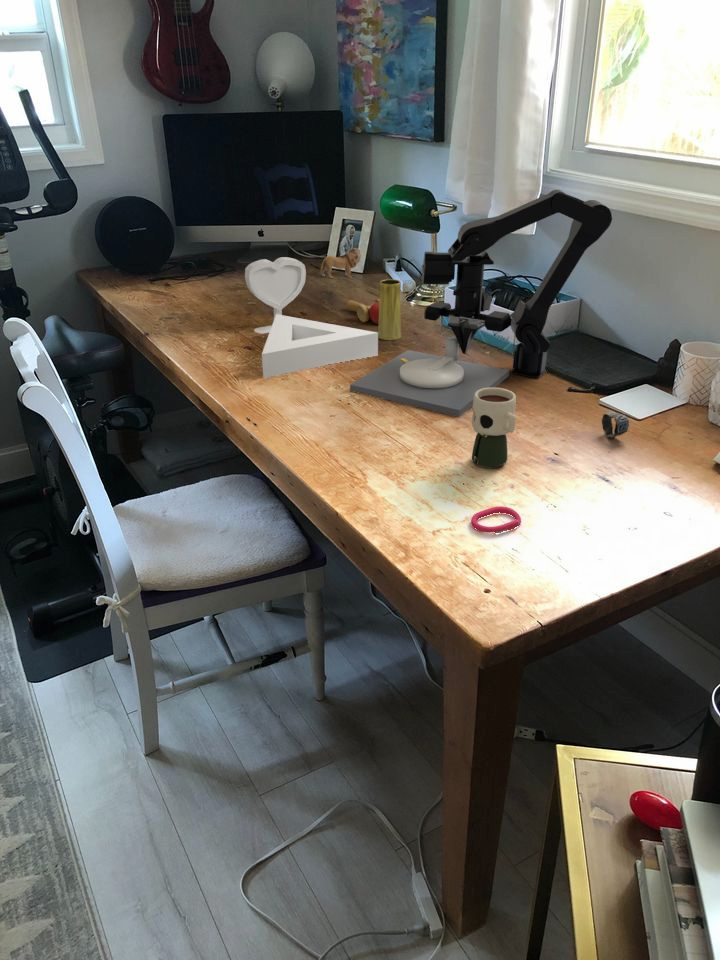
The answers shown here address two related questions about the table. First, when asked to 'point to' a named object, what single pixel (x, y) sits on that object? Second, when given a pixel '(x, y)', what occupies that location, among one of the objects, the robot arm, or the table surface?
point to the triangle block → (313, 345)
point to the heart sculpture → (275, 283)
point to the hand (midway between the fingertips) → (464, 353)
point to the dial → (435, 369)
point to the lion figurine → (341, 262)
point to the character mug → (492, 425)
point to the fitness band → (496, 529)
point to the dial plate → (441, 400)
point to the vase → (389, 310)
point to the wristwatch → (620, 426)
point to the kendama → (365, 310)
